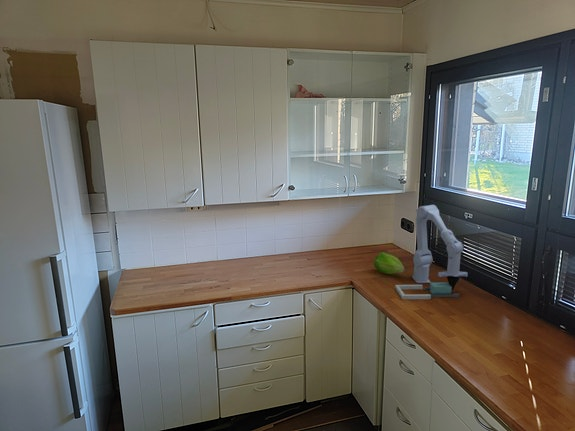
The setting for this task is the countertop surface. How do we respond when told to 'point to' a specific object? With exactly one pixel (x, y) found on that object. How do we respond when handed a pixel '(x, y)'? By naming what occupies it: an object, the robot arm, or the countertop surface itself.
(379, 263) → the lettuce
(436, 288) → the teal block
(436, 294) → the parallel guide rails
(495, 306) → the countertop surface
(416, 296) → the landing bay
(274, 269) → the countertop surface
